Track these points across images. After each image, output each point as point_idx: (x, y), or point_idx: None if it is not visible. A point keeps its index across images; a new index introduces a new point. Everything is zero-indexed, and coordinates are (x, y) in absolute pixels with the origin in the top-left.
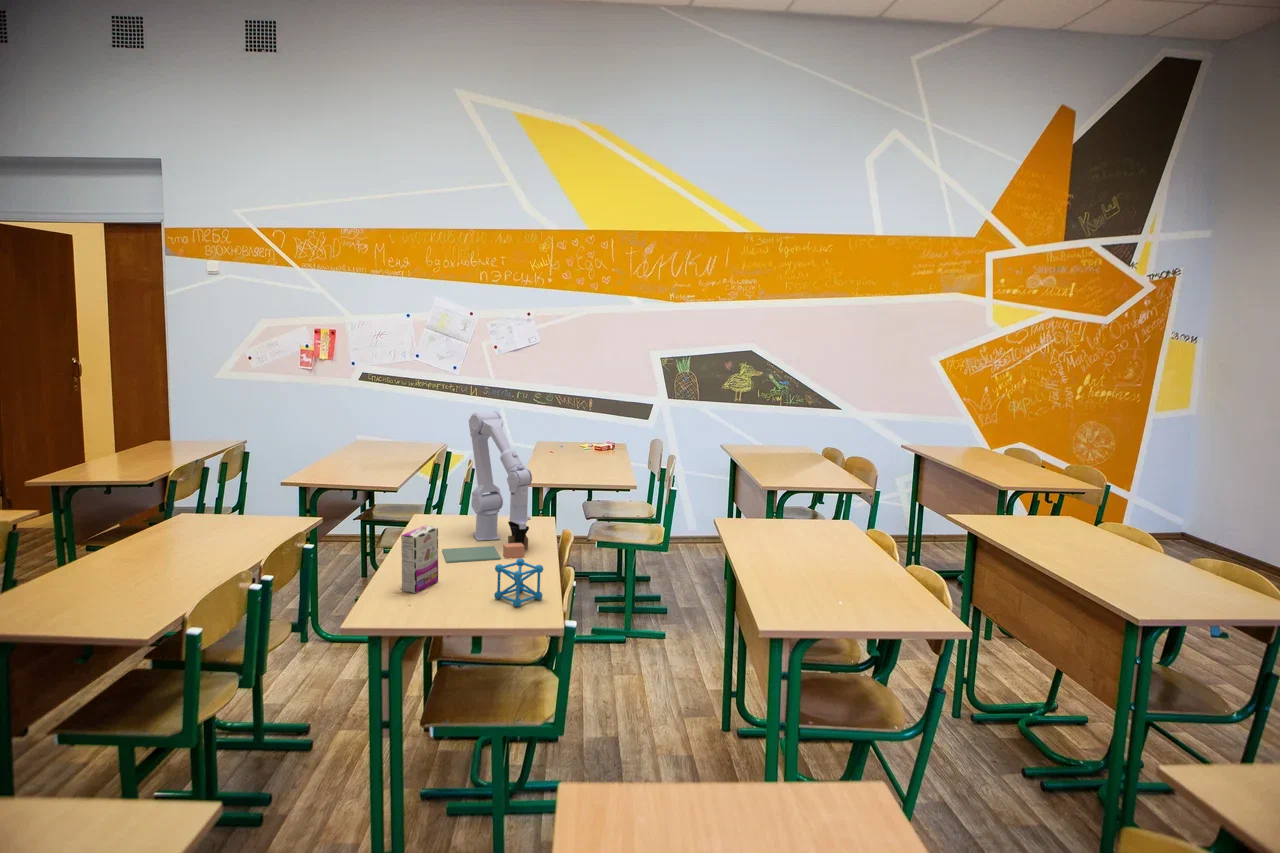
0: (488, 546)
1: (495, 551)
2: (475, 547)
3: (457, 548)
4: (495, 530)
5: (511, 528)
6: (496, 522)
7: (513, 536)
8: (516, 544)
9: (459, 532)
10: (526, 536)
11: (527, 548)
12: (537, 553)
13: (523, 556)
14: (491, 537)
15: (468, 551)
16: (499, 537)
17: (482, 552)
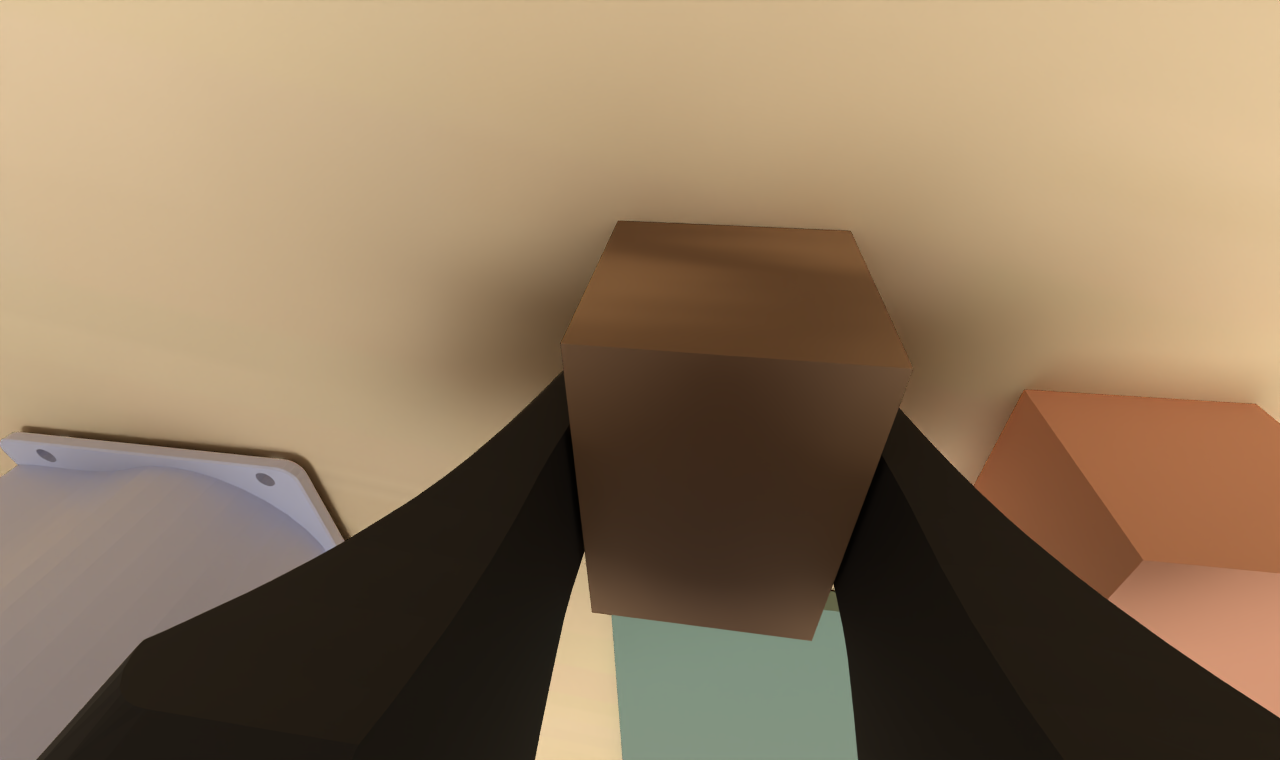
0: (618, 619)
1: (823, 621)
2: (630, 684)
3: (632, 746)
4: (193, 574)
5: (533, 734)
6: (61, 680)
7: (643, 566)
8: (1192, 649)
9: None
10: (714, 362)
11: (851, 248)
12: (1236, 82)
13: (1270, 426)
14: (305, 543)
15: (733, 732)
16: (254, 466)
17: (804, 689)
